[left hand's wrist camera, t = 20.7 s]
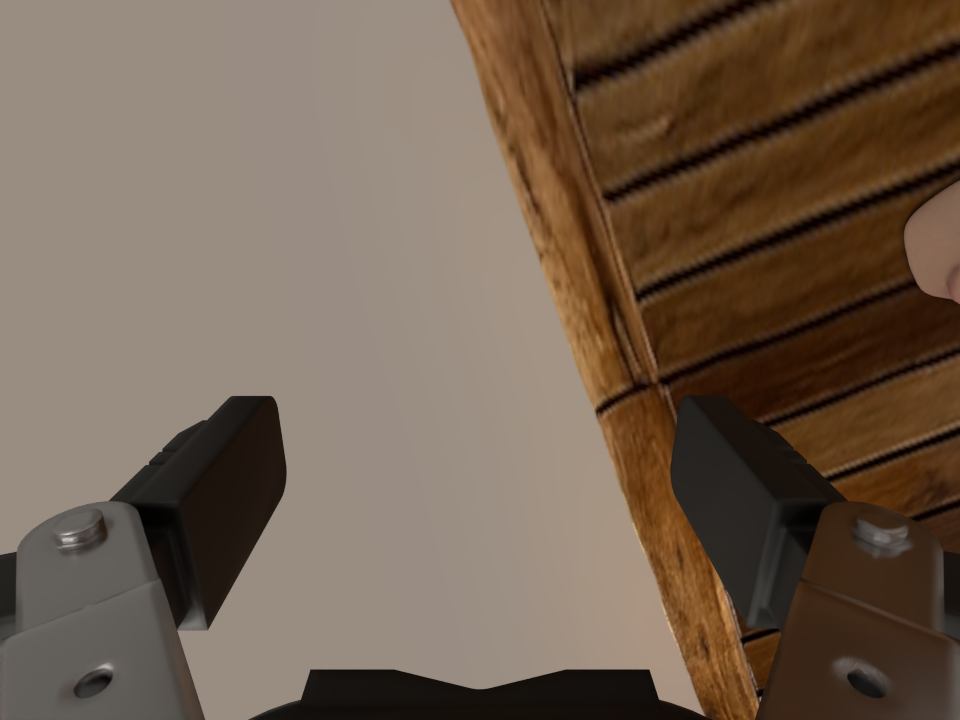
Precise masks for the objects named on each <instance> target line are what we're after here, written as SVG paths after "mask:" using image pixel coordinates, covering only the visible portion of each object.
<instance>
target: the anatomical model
mask: <svg viewBox="0 0 960 720" xmlns="http://www.w3.org/2000/svg"><path fill="white" fill-rule="evenodd" d="M904 243H905V249H906V253H907V258H908V262H909V266H910V269H911V271H912V273H913V276H914V278H915V280H916V282H917V284H918V286H919V287H920V288H921V290H923V291H924V292H925V293H927V294H929V295H932V296H936V297H942V298H948V299H953V300H954V301H955V302H957V303H959V304H960V180H959V181H957V182H956V183H954V184H952V185H951V186H949V187H947V188H946V189H944V190H943V191H941V192H940V193H938V194H937V195H935V196H934V197H933V198H931V199H930V200H929V201H927V202H926V203H925V204H924V205H922V206H921V207H920V208H919V209H918V210H917V211H916V212H915V213H914V214H913V215H912V216H911V217H910V219H909V220H908V222H907V224H906V226H905V230H904Z"/></svg>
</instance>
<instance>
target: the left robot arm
mask: <svg viewBox="0 0 960 720" xmlns="http://www.w3.org/2000/svg"><path fill="white" fill-rule="evenodd" d="M671 483H672V488H673V492H674V495H675V497H676V499H677V501H678V502H679V504H680V506H681V508H682V510H683V512H684V513H685V515H686V517H687V519H688V521H689V522H690V524H691V526H692V528H693V530H694V531H695V533H696V535H697V537H698V539H699V541H700V542H701V544H702V546H703V548H704V550H705V551H706V553H707V555H708V557H709V559H710V561H711V562H712V564H713V566H714V568H715V570H716V571H717V573H718V575H719V577H720V579H721V581H722V582H723V584H724V586H725V588H726V590H727V591H728V593H729V595H730V597H731V599H732V600H733V602H734V604H735V606H736V608H737V610H738V611H739V613H740V615H741V617H742V619H743V620H744V622H745V624H746V626H747V628H778V629H779V630H780V632H781V634H782V635H781V638H780V641H779V645H778V648H777V651H776V654H775V657H774V660H773V664H772V667H771V670H770V673H769V676H768V680H767V683H766V686H765V689H764V692H763V696H762V699H761V702H760V705H759V708H758V711H757V715H756V718H755V720H960V554H956V553H951V552H946V551H943V549H942V546H941V544H940V542H939V541H938V540H937V538H936V537H935V536H934V535H933V534H932V533H931V532H930V531H929V530H927V529H926V528H925V527H923V526H922V525H920V524H919V523H917V522H916V521H914V520H912V519H910V518H908V517H906V516H904V515H902V514H900V513H898V512H895V511H893V510H890V509H887V508H884V507H881V506H877V505H873V504H868V503H863V502H854V501H848V500H847V499H845V498H844V497H843V496H842V495H841V494H840V493H839V492H838V491H837V490H836V489H835V488H834V487H833V486H832V485H831V484H830V483H829V482H828V481H827V480H826V479H825V478H824V477H823V476H822V475H821V474H820V473H819V472H818V471H817V470H816V469H815V468H814V467H813V466H812V465H811V464H807V460H806V459H804V458H803V457H802V456H801V455H800V454H799V453H798V452H797V451H794V450H793V447H792V446H791V445H790V444H789V443H788V442H787V441H786V440H785V439H784V438H783V437H782V436H781V435H780V434H779V433H778V432H776V431H774V430H772V429H770V428H769V427H767V426H765V425H763V424H761V423H759V422H757V421H756V420H749V419H748V418H747V417H746V416H745V415H744V414H743V413H742V412H741V410H740V409H739V408H738V407H737V406H736V405H735V404H734V403H733V402H732V401H731V400H730V399H729V398H728V397H727V396H725V395H686V396H684V397H683V398H682V400H681V402H680V406H679V412H678V419H677V426H676V433H675V440H674V446H673V453H672V460H671ZM285 484H286V461H285V454H284V447H283V440H282V433H281V427H280V420H279V413H278V407H277V404H276V401H275V399H274V398H273V397H272V396H231V397H230V398H229V399H228V400H227V401H226V402H225V403H224V404H223V405H222V406H221V407H220V408H219V409H218V410H217V411H216V412H215V413H214V414H213V415H212V416H211V417H210V418H209V419H208V420H203V421H201V422H199V423H197V424H195V425H193V426H191V427H190V428H188V429H186V430H184V431H182V432H180V433H179V434H177V435H176V436H175V437H174V438H173V439H172V440H171V441H170V442H169V443H168V444H167V445H166V446H165V447H164V448H163V451H162V452H159V453H158V454H157V455H156V456H155V457H154V458H153V459H152V460H151V461H150V462H149V465H145V466H144V467H143V468H142V469H141V470H140V471H139V472H138V473H137V474H136V475H135V476H134V477H133V478H132V479H131V480H130V481H129V482H128V483H127V484H126V485H125V486H124V487H123V488H122V489H121V490H119V491H118V492H117V493H116V494H115V495H114V496H113V497H112V498H111V499H110V500H109V501H107V502H97V503H92V504H87V505H83V506H79V507H76V508H73V509H70V510H67V511H65V512H63V513H60V514H58V515H56V516H54V517H52V518H50V519H48V520H46V521H44V522H43V523H41V524H40V525H38V526H37V527H35V528H34V529H33V530H31V531H30V532H29V533H28V534H27V535H26V536H25V537H24V538H23V540H22V541H21V542H20V544H19V546H18V549H17V552H14V553H8V554H3V555H0V720H205V718H204V715H203V711H202V708H201V705H200V702H199V699H198V696H197V693H196V689H195V686H194V683H193V680H192V676H191V673H190V670H189V667H188V664H187V661H186V657H185V654H184V651H183V648H182V645H181V641H180V638H179V635H178V632H177V630H208V629H209V627H210V625H211V624H212V622H213V620H214V618H215V616H216V615H217V613H218V611H219V609H220V607H221V606H222V604H223V602H224V600H225V599H226V597H227V595H228V593H229V591H230V590H231V588H232V586H233V584H234V582H235V581H236V579H237V577H238V575H239V573H240V572H241V570H242V568H243V566H244V564H245V563H246V561H247V559H248V557H249V555H250V554H251V552H252V550H253V548H254V546H255V545H256V543H257V541H258V539H259V538H260V536H261V534H262V532H263V530H264V529H265V527H266V525H267V523H268V521H269V520H270V518H271V516H272V514H273V512H274V511H275V509H276V507H277V505H278V503H279V502H280V500H281V498H282V496H283V493H284V489H285ZM249 720H711V719H709V718H707V717H705V716H703V715H701V714H698V713H696V712H694V711H692V710H689V709H686V708H684V707H681V706H678V705H675V704H672V703H669V702H666V701H662V700H659V698H658V695H657V692H656V689H655V686H654V683H653V679H652V676H651V673H650V670H562V671H558V672H554V673H550V674H546V675H542V676H538V677H534V678H530V679H526V680H522V681H517V682H513V683H509V684H505V685H501V686H497V687H493V688H489V689H471V688H467V687H463V686H459V685H455V684H451V683H447V682H443V681H438V680H434V679H430V678H426V677H422V676H418V675H414V674H410V673H406V672H401V671H398V670H310V673H309V676H308V680H307V683H306V686H305V689H304V692H303V695H302V698H301V700H298V701H295V702H291V703H288V704H285V705H282V706H279V707H277V708H273V709H271V710H268V711H266V712H264V713H262V714H259V715H257V716H255V717H253V718H251V719H249Z"/></svg>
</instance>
